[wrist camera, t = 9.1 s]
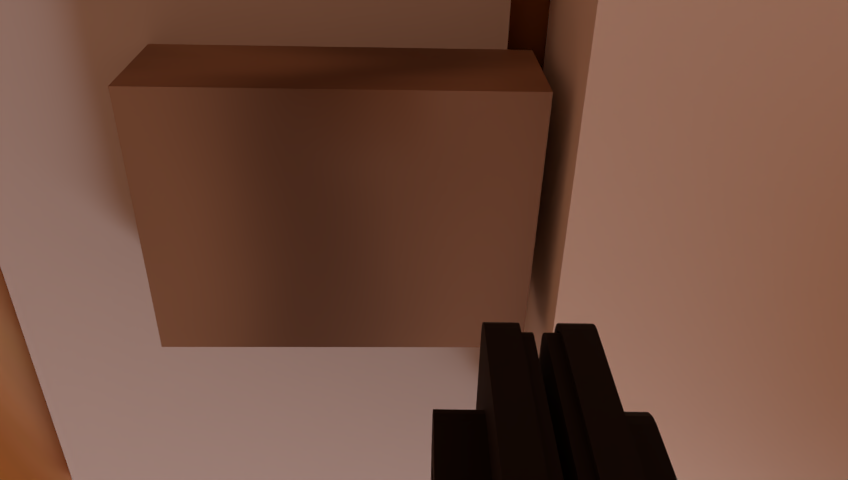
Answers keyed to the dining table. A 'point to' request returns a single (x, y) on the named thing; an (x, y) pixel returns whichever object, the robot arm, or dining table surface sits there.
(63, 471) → the dining table surface
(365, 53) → the tile
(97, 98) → the mat
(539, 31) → the dining table surface
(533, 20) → the dining table surface
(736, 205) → the deck
